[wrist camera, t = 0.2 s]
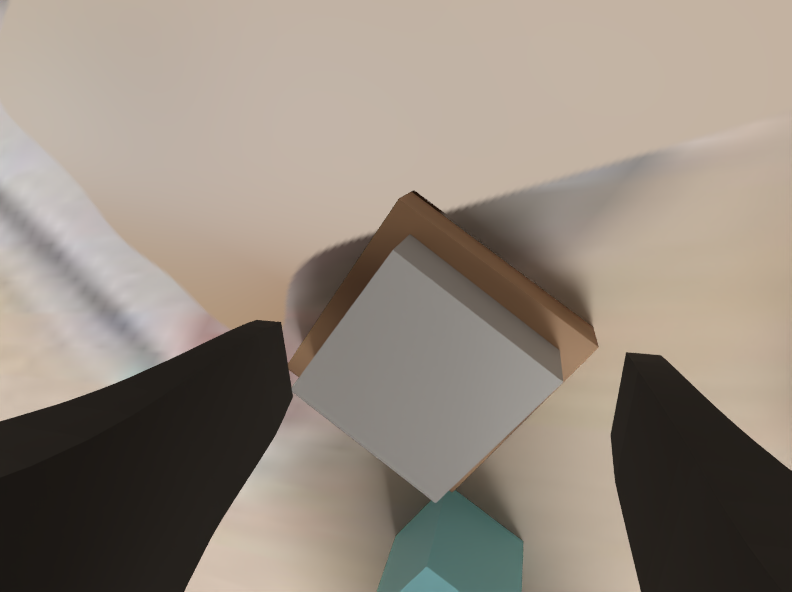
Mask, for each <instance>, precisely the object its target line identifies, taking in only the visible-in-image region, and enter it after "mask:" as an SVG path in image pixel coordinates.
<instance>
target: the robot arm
mask: <svg viewBox="0 0 792 592" xmlns="http://www.w3.org/2000/svg"><path fill="white" fill-rule="evenodd" d="M292 397H293V394H292V387H291V381H290V375H289V369H288V362H287V356H286V350H285V344H284V338H283V331H282V325H281V322H274V321H262V320H255V321H252V322H249V323H247V324H245V325H242V326H240V327H237V328H235V329H233V330H230V331H228V332H226V333H224V334H222V335H220V336H218V337H216V338H214V339H212V340H209V341H207V342H205V343H203V344H201V345H199V346H197V347H195V348H193V349H191V350H189V351H187V352H185V353H183V354H181V355H178V356H176V357H174V358H172V359H170V360H168V361H165V362H163V363H161V364H159V365H157V366H154V367H152V368H150V369H148V370H145V371H143V372H141V373H139V374H136V375H134V376H132V377H130V378H127V379H125V380H123V381H120V382H118V383H115V384H113V385H110V386H108V387H105V388H102V389H100V390H97V391H94V392H92V393H89V394H86V395H83V396H81V397H78V398H75V399H72V400H69V401H66V402H63V403H60V404H57V405H54V406H51V407H47V408H44V409H41V410H37V411H34V412H31V413H27V414H24V415H21V416H17V417H14V418H11V419H7V420H4V421H0V592H184V591H185V589H186V587H187V585H188V582H189V580H190V578H191V576H192V575H193V573H194V571H195V569H196V567H197V565H198V563H199V561H200V559H201V557H202V555H203V553H204V551H205V549H206V547H207V545H208V543H209V541H210V539H211V537H212V535H213V534H214V532H215V530H216V529H217V527H218V525H219V523H220V522H221V520H222V518H223V517H224V515H225V514H226V512H227V511H228V509H229V507H230V506H231V504H232V503H233V501H234V500H235V498H236V497H237V495H238V493H239V492H240V490H241V489H242V487H243V486H244V484H245V483H246V481H247V479H248V478H249V476H250V475H251V473H252V472H253V470H254V469H255V467H256V465H257V464H258V462H259V461H260V459H261V457H262V456H263V454H264V453H265V451H266V450H267V448H268V446H269V445H270V443H271V442H272V440H273V438H274V437H275V435H276V433H277V431H278V429H279V427H280V425H281V423H282V420H283V418H284V416H285V414H286V411H287V409H288V407H289V404H290V402H291V400H292ZM611 444H612V455H613V465H614V475H615V483H616V487H617V492H618V496H619V501H620V505H621V509H622V514H623V518H624V522H625V526H626V531H627V535H628V539H629V543H630V547H631V551H632V556H633V560H634V564H635V568H636V572H637V577H638V581H639V585H640V589H641V592H792V471H791V470H790V469H788V468H787V467H786V466H785V465H783V464H782V463H781V462H780V461H778V460H777V459H776V458H775V457H773V456H772V455H771V454H770V453H769V452H767V451H766V450H765V449H764V448H762V447H761V446H760V445H759V444H757V443H756V442H755V441H754V440H753V439H751V438H750V437H749V436H748V435H747V434H746V433H744V432H743V431H742V430H741V429H740V428H739V427H737V426H736V425H735V424H734V423H733V422H732V421H731V420H730V419H728V418H727V417H726V416H725V415H724V414H723V413H722V412H721V411H720V410H718V409H717V408H716V407H715V406H714V405H713V404H712V403H711V402H710V401H709V400H708V399H707V398H706V397H704V396H703V395H702V394H701V393H700V392H699V391H698V390H697V389H696V388H695V387H694V386H693V385H692V384H691V383H690V382H689V381H688V380H687V379H686V378H685V377H684V376H683V375H681V374H680V373H679V372H678V371H677V370H676V369H675V368H674V367H673V366H672V365H671V364H670V363H669V362H668V361H667V360H666V359H664V358H663V357H662V356H661V355H650V354H639V353H628V352H626V356H625V362H624V367H623V372H622V378H621V383H620V388H619V394H618V399H617V404H616V410H615V415H614V420H613V426H612V431H611Z"/></svg>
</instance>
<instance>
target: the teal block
mask: <svg viewBox="0 0 792 592" xmlns="http://www.w3.org/2000/svg"><path fill="white" fill-rule="evenodd" d="M522 564H523V541H522V540H521V539H519V538H518V537H517V536H515V535H514V534H513V533H511V532H510V531H509V530H507V529H506V528H505V527H503V526H502V525H501V524H499V523H498V522H497V521H495V520H494V519H493V518H491V517H490V516H489V515H488V514H486V513H485V512H484V511H482V510H481V509H480V508H478V507H477V506H476V505H474V504H473V503H472V502H470V501H469V500H468V499H466V498H465V497H464V496H462V495H461V494H460V493H458V492H457V491H456V490H454V491H453V492H450V491H448V492H447V493H446V494H445V495H444V496H443V497H442V498H441V499H440V500H439V501H437V502H436V503H434V502H433V501H432V500H431V501H430V502H429V503H428V504H427V505H426V506H425V507H424V508H423V509H422V510H421V511H420V512H419V513H418V514H417V515H416V516H415V517H414V518H413V519H412V520H411V521H410V522H409V523H408V524H407V525H406V526H405V527H404V528H403V529H402V530H401V531H400V532H399V533H398V534H397V535H396V537H395V539H394V542H393V545H392V548H391V551H390V554H389V557H388V560H387V563H386V566H385V569H384V572H383V575H382V578H381V580H380V583H379V586H378V589H377V592H522Z"/></svg>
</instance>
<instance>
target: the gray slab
mask: <svg viewBox="0 0 792 592" xmlns="http://www.w3.org/2000/svg"><path fill="white" fill-rule="evenodd" d="M562 383H563V374H562V365H561V356H560V350H559V349H557V348H556V347H555V346H553V345H552V344H551V343H550V342H548V341H547V340H546V339H544V338H543V337H542V336H541V335H539V334H538V333H537V332H535V331H534V330H533V329H532V328H530V327H529V326H528V325H526V324H525V323H524V322H523V321H521V320H520V319H519V318H517V317H516V316H515V315H514V314H512V313H511V312H510V311H509V310H507V309H506V308H505V307H503V306H502V305H501V304H500V303H498V302H497V301H496V300H494V299H493V298H492V297H491V296H489V295H488V294H487V293H485V292H484V291H483V290H482V289H480V288H479V287H478V286H476V285H475V284H474V283H473V282H471V281H470V280H469V279H467V278H466V277H465V276H464V275H462V274H461V273H460V272H458V271H457V270H456V269H455V268H453V267H452V266H451V265H449V264H448V263H447V262H446V261H444V260H443V259H442V258H440V257H439V256H438V255H437V254H435V253H434V252H433V251H431V250H430V249H429V248H427V247H426V246H425V245H424V244H422V243H421V242H420V241H418V240H417V239H416V238H415V237H413V236H412V235H411V234H410V235H408V236H407V237H406V238H405V239H404V240H403V241H402V242H401V243H400V244H399V245H398V246H397V247H395V248H394V249H393V250H392V252H391V253H390V254H389V256H388V257H387V259H386V260H385V261H384V263H383V264H382V265H381V267H380V268H379V269H378V271H377V272H376V274H375V275H374V276H373V278H372V279H371V280H370V282H369V283H368V284H367V286H366V287H365V288H364V290H363V291H362V293H361V294H360V295H359V297H358V298H357V299H356V301H355V302H354V303H353V305H352V306H351V307H350V309H349V310H348V312H347V313H346V314H345V316H344V317H343V318H342V320H341V321H340V322H339V324H338V325H337V327H336V328H335V329H334V331H333V332H332V333H331V335H330V336H329V337H328V339H327V340H326V341H325V343H324V344H323V346H322V347H321V348H320V350H319V351H318V352H317V354H316V355H315V356H314V358H313V359H312V360H311V362H310V363H309V365H308V366H307V367H306V369H305V370H304V371H303V373H302V374H301V375H300V377H299V378H298V380H297V381H296V382H295V384H294V385H293V386H292V392H293V393H294V394H296V395H297V396H298V397H299V398H301V399H302V400H303V401H305V402H306V403H307V404H308V405H310V406H311V407H312V408H314V409H315V410H316V411H317V412H319V413H320V414H321V415H323V416H324V417H325V418H326V419H328V420H329V421H330V422H332V423H333V424H334V425H335V426H337V427H338V428H339V429H341V430H342V431H343V432H344V433H346V434H347V435H348V436H350V437H351V438H352V439H353V440H355V441H356V442H357V443H359V444H360V445H361V446H362V447H364V448H365V449H366V450H368V451H369V452H370V453H371V454H373V455H374V456H375V457H377V458H378V459H379V460H380V461H382V462H383V463H384V464H386V465H387V466H388V467H389V468H391V469H392V470H393V471H395V472H396V473H397V474H398V475H400V476H401V477H402V478H404V479H405V480H406V481H407V482H409V483H410V484H411V485H413V486H414V487H415V488H416V489H418V490H419V491H420V492H422V493H423V494H424V495H425V496H427V497H428V498H429V499H431V500H432V501H433V502H434V503H436V502H437V501H439V500H440V499H441V498H442V497H443V496H444V495H445V494H446V493H447V492H448V491H449V490H450V489H451V488H452V487H453V486H454V485H455V484H456V483H458V482H459V481H460V480H461V479H462V478H463V477H464V476H465V475H466V474H467V473H468V472H469V471H470V470H471V469H472V468H473V467H474V466H475V465H476V464H478V463H479V462H480V461H481V460H482V459H483V458H484V457H485V456H486V455H487V454H488V453H489V452H490V451H491V450H492V449H493V448H494V447H495V446H497V445H498V444H499V443H500V442H501V441H502V440H503V439H504V438H505V437H506V436H507V435H508V434H509V433H510V432H511V431H512V430H513V429H514V428H516V427H517V426H518V425H519V424H520V423H521V422H522V421H523V420H524V419H525V418H526V417H527V416H528V415H529V414H530V413H531V412H532V411H533V410H535V409H536V408H537V407H538V406H539V405H540V404H541V403H542V402H543V401H544V400H545V399H546V398H547V397H548V396H549V395H550V394H551V393H552V392H553V391H555V390H556V389H557V388H558V387H559V386H560V385H561V384H562Z"/></svg>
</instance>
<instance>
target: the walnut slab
mask: <svg viewBox="0 0 792 592" xmlns="http://www.w3.org/2000/svg"><path fill="white" fill-rule="evenodd" d="M442 212H443V211H442V210H440V209H439V208H437V207H436V206H435V205H433V204H432V203H431V202H429V201H428V200H427V199H425V198H424V197H423V196H421V195H420V194H419V193H417V192H416V191H411V192H410V193H408V194H406V195H404V196H403V197H401V198H399V199H398V201H397V202H396V204H395V205H394V207H393V208H392V210H391V211H390V213H389V214H388V216H387V217H386V219H385V220H384V222H383V223H382V225H381V226H380V228H379V229H378V230H377V232H376V233H375V235H374V236H373V238H372V239H371V241H370V242H369V244H368V245H367V247H366V248H365V250H364V251H363V253H362V254H361V256H360V257H359V259H358V260H357V262H356V263H355V265H354V266H353V268H352V269H351V271H350V272H349V274H348V275H347V277H346V278H345V280H344V281H343V283H342V284H341V286H340V287H339V289H338V290H337V292H336V293H335V295H334V296H333V298H332V299H331V300H330V302H329V303H328V305H327V306H326V308H325V309H324V311H323V312H322V314H321V315H320V317H319V318H318V320H317V321H316V323H315V324H314V326H313V327H312V329H311V330H310V332H309V333H308V335H307V336H306V338H305V339H304V341H303V342H302V344H301V345H300V347H299V348H298V350H297V351H296V353H295V354H294V356H293V357H292V359H291V360H290V362H289V363H288V369H289V370H290V371H291V372H293V373H294V374H295V375H297V376H298V377H300V375H301V374H302V373H303V371H304V370H305V369H306V367H307V366H308V365H309V363H310V362H311V360H312V359H313V358H314V356H315V355H316V354H317V352H318V351H319V350H320V348H321V347H322V346H323V344H324V343H325V341H326V340H327V339H328V337H329V336H330V335H331V333H332V332H333V331H334V329H335V328H336V327H337V325H338V324H339V322H340V321H341V320H342V318H343V317H344V316H345V314H346V313H347V312H348V310H349V309H350V307H351V306H352V305H353V303H354V302H355V301H356V299H357V298H358V297H359V295H360V294H361V293H362V291H363V290H364V288H365V287H366V286H367V284H368V283H369V282H370V280H371V279H372V278H373V276H374V275H375V274H376V272H377V271H378V269H379V268H380V267H381V265H382V264H383V263H384V261H385V260H386V259H387V257H388V256H389V254H390V253H391V252H392V250H393V249H394V248H395V247H397V246H398V245H399V244H400V243H401V242H402V241H403V240H404V239H405V238H406V237H407V236H408V235H410V234H411V235H412V236H413V237H415V238H416V239H417V240H418V241H420V242H421V243H422V244H424V245H425V246H426V247H427V248H429V249H430V250H431V251H433V252H434V253H435V254H437V255H438V256H439V257H440V258H442V259H443V260H444V261H446V262H447V263H448V264H449V265H451V266H452V267H453V268H455V269H456V270H457V271H458V272H460V273H461V274H462V275H464V276H465V277H466V278H467V279H469V280H470V281H471V282H473V283H474V284H475V285H476V286H478V287H479V288H480V289H482V290H483V291H484V292H485V293H487V294H488V295H489V296H491V297H492V298H493V299H494V300H496V301H497V302H498V303H500V304H501V305H502V306H503V307H505V308H506V309H507V310H509V311H510V312H511V313H512V314H514V315H515V316H516V317H517V318H519V319H520V320H521V321H523V322H524V323H525V324H526V325H528V326H529V327H530V328H532V329H533V330H534V331H535V332H537V333H538V334H539V335H541V336H542V337H543V338H544V339H546V340H547V341H548V342H550V343H551V344H552V345H553V346H555V347H556V348H557V349H559V350H560V356H561V365H562V374H563V382H564V381H565V380H566V379H567V378H568V377H569V376H570V375H571V374H572V373H573V372H574V371H575V370H576V369H577V368H578V367H579V366H580V365H581V364H582V363H583V362H584V361H585V360H586V359H587V358H588V357H589V356H590V355H591V354H592V353H593V352H594V351H595V350H596V349H597V348H598V343H597V339H596V336H595V332H594V328H593V327H592V326H591V325H590V324H588V323H587V322H585V321H584V320H583V319H581V318H580V317H579V316H577V315H576V314H575V313H573V312H572V311H571V310H569V309H568V308H567V307H565V306H564V305H563V304H561V303H560V302H559V301H557V300H556V299H555V298H553V297H552V296H551V295H549V294H548V293H547V292H545V291H544V290H543V289H541V288H540V287H539V286H537V285H536V284H534V283H533V282H532V281H530V280H529V279H528V278H526V277H525V276H524V275H522V274H521V273H520V272H518V271H517V270H516V269H514V268H513V267H512V266H510V265H509V264H508V263H506V262H505V261H504V260H502V259H501V258H500V257H498V256H497V255H496V254H494V253H493V252H492V251H490V250H489V249H487V248H486V247H485V246H483V245H482V244H481V243H479V242H478V241H477V240H475V239H474V238H473V237H471V236H470V235H469V234H467V233H466V232H465V231H463V230H462V229H461V228H459V227H458V226H457V225H455V224H454V223H453V222H451V221H450V220H449V219H447V218H446V217H445V216H443V215H442V214H441V213H442ZM553 392H554V391H553ZM553 392H552V393H553ZM552 393H551V394H552ZM551 394H550V395H551ZM550 395H549V396H550ZM549 396H548V397H549ZM548 397H547V398H548ZM547 398H546V399H547ZM546 399H545V400H546ZM545 400H544V401H545ZM544 401H543V402H544ZM543 402H542V403H543ZM542 403H541V404H542ZM541 404H540V405H541ZM540 405H539V406H540ZM539 406H538V407H539ZM538 407H537V408H538ZM537 408H536V409H537ZM536 409H535V410H536ZM535 410H533V411H532V412H531V413H530V414H529V415H528V416H527V417H526V418H525V419H524V420H523V421H522V422H521V423H520V424H519V425H518V426H517V427H516V428H514V429H513V430H512V431H511V432H510V433H509V434H508V435H507V436H506V437H505V438H504V439H503V440H502V441H501V442H500V443H499V444H498V445H497V446H495V447H494V448H493V449H492V450H491V451H490V452H489V453H488V454H487V455H486V456H485V457H484V458H483V459H482V460H481V461H480V462H479V463H478V464H476V465H475V466H474V467H473V468H472V469H471V470H470V471H469V472H468V473H467V474H466V475H465V476H464V477H463V478H462V479H461V480H460V481H459V482H458V483H456V484H455V485H454V486H453V487H452V488H451V489H450V490H449V491H450V492H453V491H454V490H455V489H456V488H457V487H458V486H459V485H460V484H461V483H462V482H463V481H464V480H465V479H466V478H467V477H468V476H469V475H470V474H472V473H473V472H474V471H475V470H476V469H477V468H478V467H479V466H480V465H481V464H482V463H483V462H484V461H485V460H486V459H487V458H488V457H489V456H490V455H491V454H492V453H493V452H494V451H495V450H496V449H497V448H498V447H499V446H500V445H501V444H502V443H503V442H504V441H505V440H506V439H507V438H508V437H509V436H510V435H511V434H512V433H513V432H514V431H515V430H516V429H517V428H518V427H519V426H520V425H521V424H522V423H523V422H524V421H525V420H526V419H527V418H528V417H529V416H530V415H531V414H532V413H533V412H534V411H535Z"/></svg>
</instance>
